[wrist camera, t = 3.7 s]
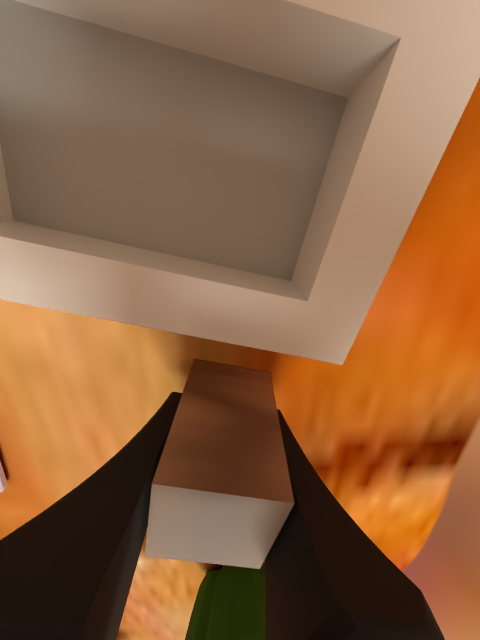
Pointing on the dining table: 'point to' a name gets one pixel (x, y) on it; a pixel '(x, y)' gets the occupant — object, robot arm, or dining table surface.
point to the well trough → (223, 158)
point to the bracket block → (221, 471)
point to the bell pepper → (229, 605)
